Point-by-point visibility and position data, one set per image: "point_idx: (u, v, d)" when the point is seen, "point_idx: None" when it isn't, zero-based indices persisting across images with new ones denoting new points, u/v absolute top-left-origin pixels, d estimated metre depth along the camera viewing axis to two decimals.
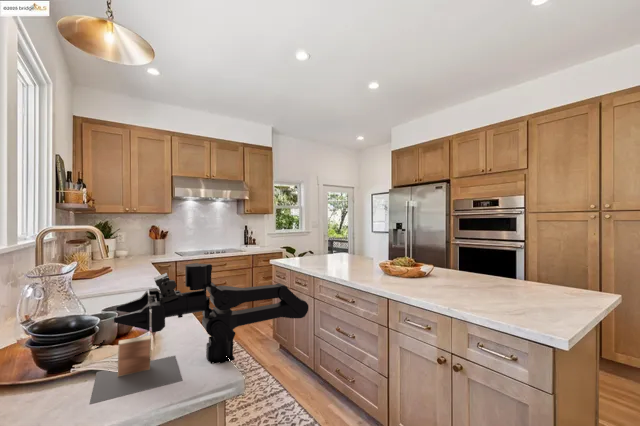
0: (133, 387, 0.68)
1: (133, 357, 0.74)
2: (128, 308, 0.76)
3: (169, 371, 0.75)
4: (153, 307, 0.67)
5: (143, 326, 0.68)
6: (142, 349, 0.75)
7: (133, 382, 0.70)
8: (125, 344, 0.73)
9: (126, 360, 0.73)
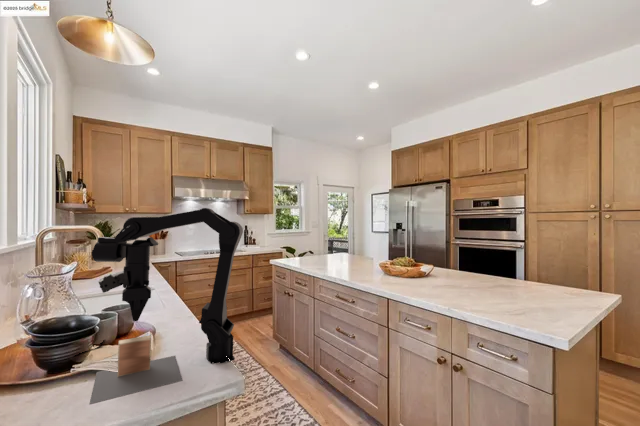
0: (133, 387, 0.68)
1: (133, 357, 0.74)
2: None
3: (169, 371, 0.75)
4: (123, 299, 0.72)
5: (145, 300, 0.78)
6: (142, 349, 0.75)
7: (133, 382, 0.70)
8: (125, 344, 0.73)
9: (126, 360, 0.73)
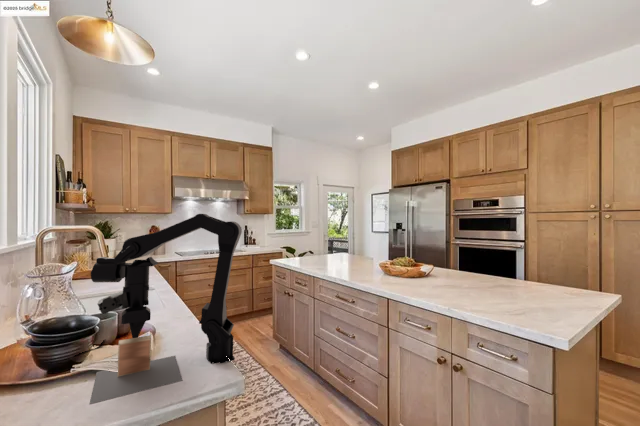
0: (133, 387, 0.68)
1: (133, 357, 0.74)
2: None
3: (169, 371, 0.75)
4: (122, 322, 0.72)
5: None
6: (142, 349, 0.75)
7: (133, 382, 0.70)
8: (125, 344, 0.73)
9: (126, 360, 0.73)
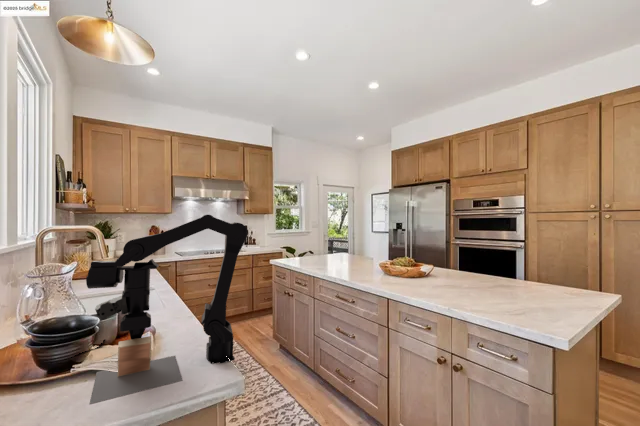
0: (133, 387, 0.68)
1: (133, 359, 0.73)
2: None
3: (169, 371, 0.75)
4: (121, 329, 0.67)
5: None
6: (142, 351, 0.74)
7: (133, 382, 0.70)
8: (125, 347, 0.72)
9: (126, 361, 0.72)
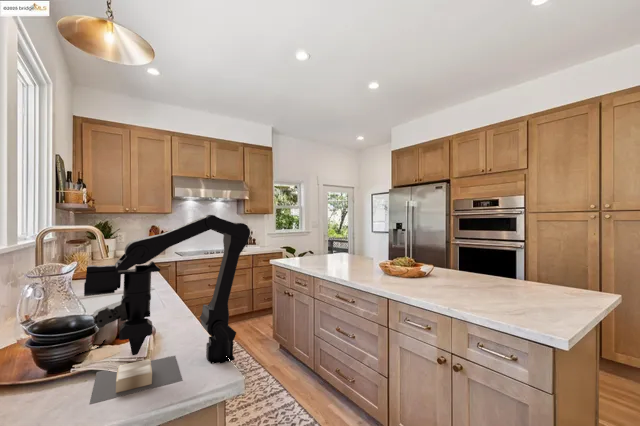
0: None
1: None
2: None
3: (169, 371, 0.75)
4: (120, 338, 0.63)
5: None
6: None
7: None
8: (123, 389, 0.66)
9: None
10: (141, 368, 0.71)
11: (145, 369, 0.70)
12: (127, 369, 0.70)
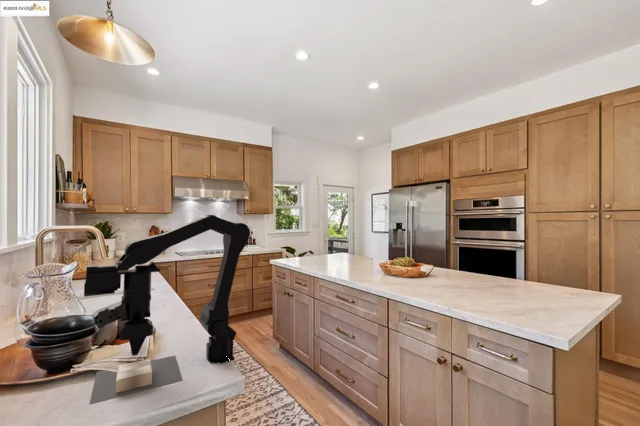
0: None
1: None
2: None
3: (169, 371, 0.75)
4: (121, 338, 0.62)
5: None
6: None
7: None
8: (123, 389, 0.66)
9: None
10: (141, 368, 0.71)
11: (145, 369, 0.70)
12: (127, 369, 0.70)
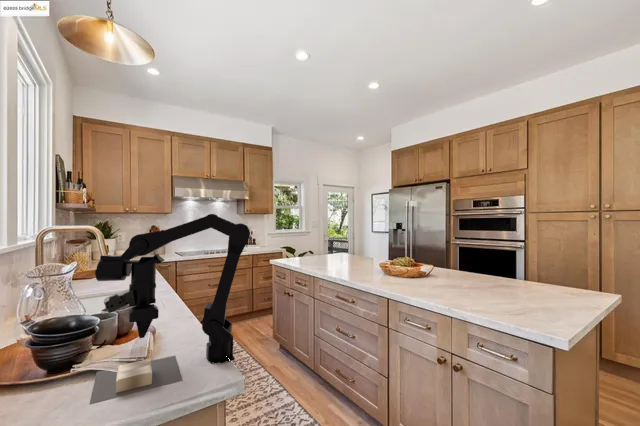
0: None
1: None
2: None
3: (169, 371, 0.75)
4: (130, 320, 0.70)
5: None
6: None
7: None
8: (123, 389, 0.66)
9: None
10: (141, 368, 0.71)
11: (145, 369, 0.70)
12: (127, 369, 0.70)
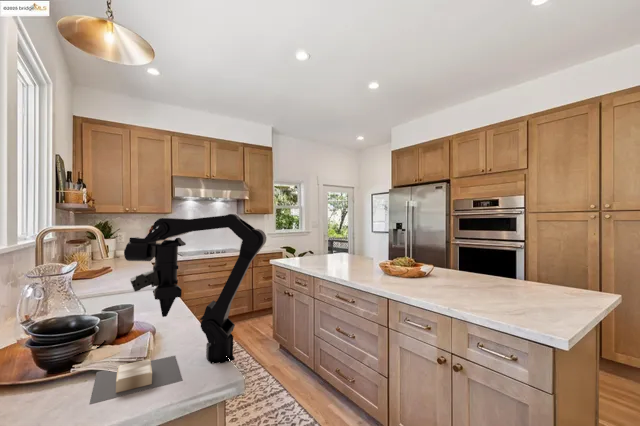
0: None
1: None
2: None
3: (169, 371, 0.75)
4: (156, 298, 0.74)
5: None
6: None
7: None
8: (123, 389, 0.66)
9: None
10: (141, 368, 0.71)
11: (145, 369, 0.70)
12: (127, 369, 0.70)
